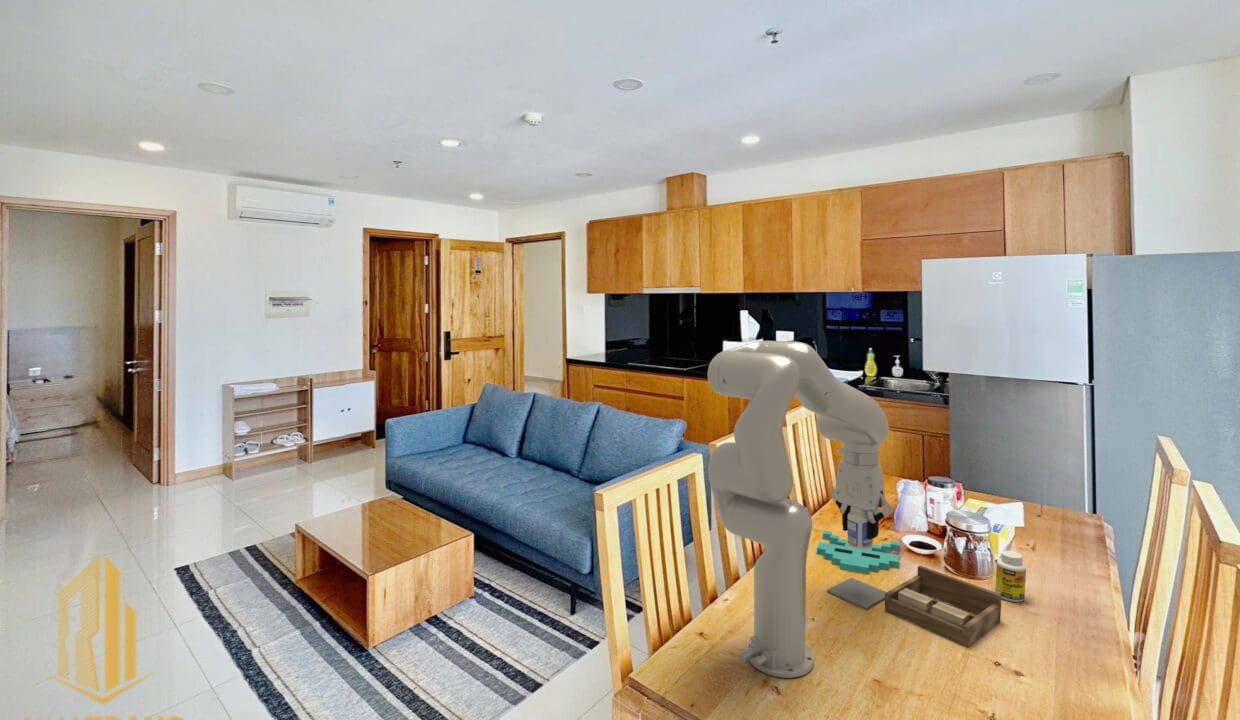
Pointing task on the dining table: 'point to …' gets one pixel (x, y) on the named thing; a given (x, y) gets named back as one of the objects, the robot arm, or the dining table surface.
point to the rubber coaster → (858, 593)
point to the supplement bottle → (1010, 576)
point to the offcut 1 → (916, 600)
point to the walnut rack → (952, 593)
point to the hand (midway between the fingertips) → (859, 532)
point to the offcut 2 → (950, 614)
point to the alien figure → (858, 555)
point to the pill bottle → (858, 529)
